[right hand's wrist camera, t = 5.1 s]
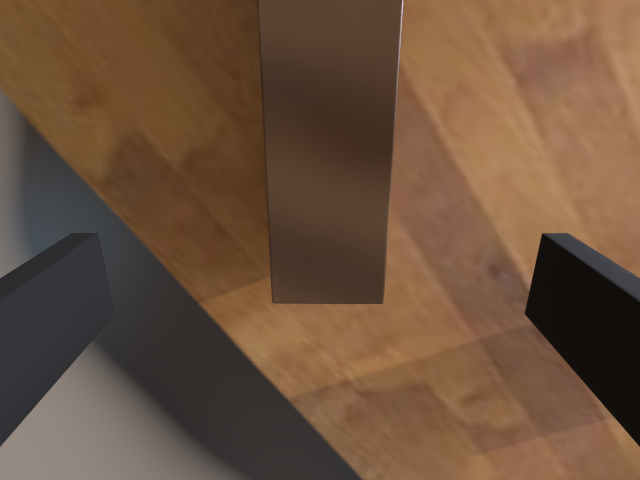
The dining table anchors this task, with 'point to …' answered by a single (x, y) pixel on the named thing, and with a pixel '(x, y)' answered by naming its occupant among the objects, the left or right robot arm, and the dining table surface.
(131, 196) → the dining table surface
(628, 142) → the dining table surface
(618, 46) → the dining table surface
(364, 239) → the beam
